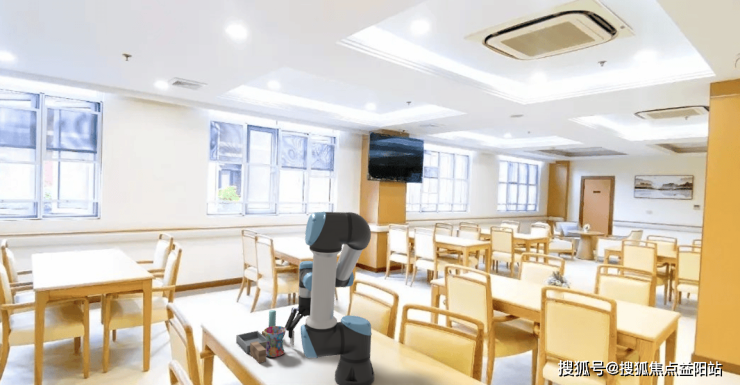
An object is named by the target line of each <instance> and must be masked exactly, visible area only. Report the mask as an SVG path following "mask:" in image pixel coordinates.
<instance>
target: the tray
mask: <svg viewBox="0 0 740 385" xmlns="http://www.w3.org/2000/svg"><path fill="white" fill-rule="evenodd" d="M235 338H236V341H235V343H236V344H237V345H238V347H240V348H241V349H242V351H243V352H244V353H245V354H246V355H248V354H249V355H250V343H252V342H256V341H257V342H258V343H260V344H261V345H262V346H263V347H264V348H265V349H266V346H267V340H266V338H265V337H264V336H263V335H262V332H259V330H254V331H250V332H245V333H240V334H236V337H235Z"/></svg>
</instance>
